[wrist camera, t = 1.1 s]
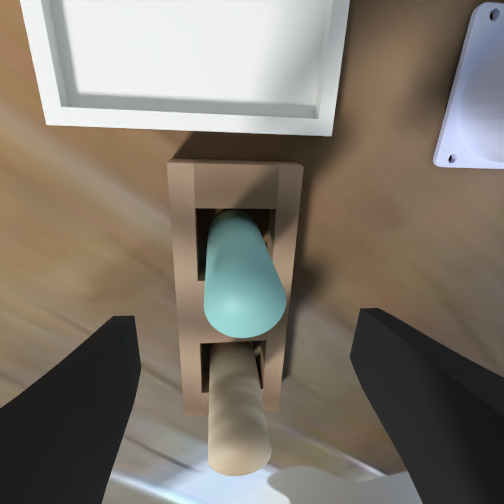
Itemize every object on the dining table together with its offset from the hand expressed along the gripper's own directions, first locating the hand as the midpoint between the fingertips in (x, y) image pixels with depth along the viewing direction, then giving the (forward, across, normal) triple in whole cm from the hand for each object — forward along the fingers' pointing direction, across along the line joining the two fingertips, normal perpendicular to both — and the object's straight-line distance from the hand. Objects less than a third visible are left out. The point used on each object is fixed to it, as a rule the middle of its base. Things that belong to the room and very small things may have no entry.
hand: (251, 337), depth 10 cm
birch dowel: (+10, 0, +9) cm, 14 cm away
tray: (+10, +2, -11) cm, 15 cm away
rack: (+10, 0, +5) cm, 11 cm away
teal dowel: (+10, 0, 0) cm, 10 cm away
